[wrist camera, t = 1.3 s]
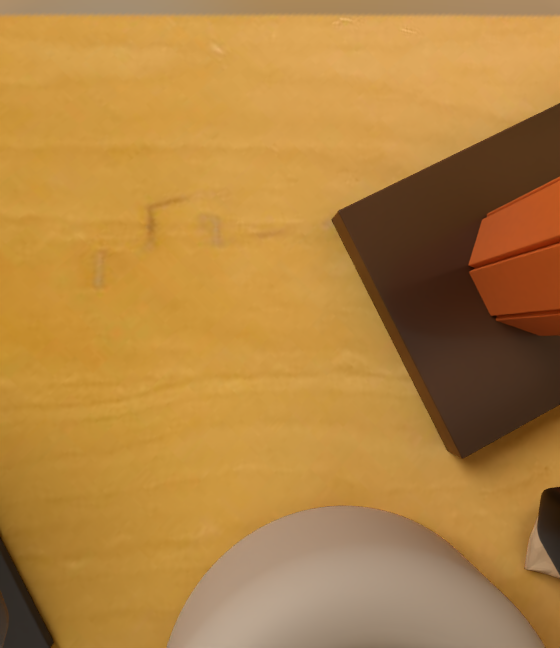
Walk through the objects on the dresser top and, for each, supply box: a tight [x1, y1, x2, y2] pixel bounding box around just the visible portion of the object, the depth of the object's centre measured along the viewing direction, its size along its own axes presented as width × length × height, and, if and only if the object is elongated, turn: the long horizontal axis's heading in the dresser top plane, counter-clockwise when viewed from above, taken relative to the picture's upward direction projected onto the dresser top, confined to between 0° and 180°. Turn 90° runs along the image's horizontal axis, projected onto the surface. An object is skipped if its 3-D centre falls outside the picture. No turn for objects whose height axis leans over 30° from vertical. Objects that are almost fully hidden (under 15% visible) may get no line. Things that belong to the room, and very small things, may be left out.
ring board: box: [332, 103, 560, 458], centre depth 20 cm, size 12×14×6 cm
